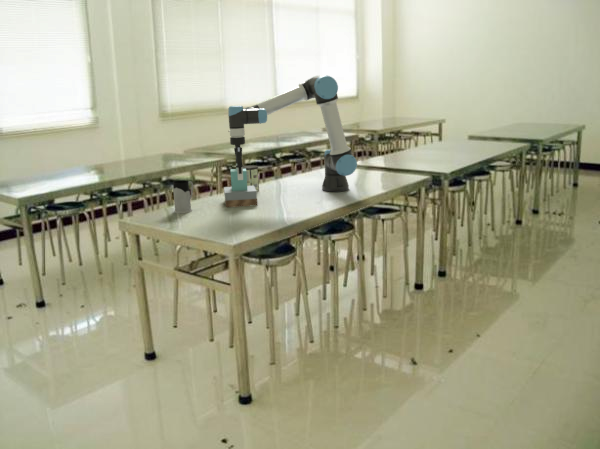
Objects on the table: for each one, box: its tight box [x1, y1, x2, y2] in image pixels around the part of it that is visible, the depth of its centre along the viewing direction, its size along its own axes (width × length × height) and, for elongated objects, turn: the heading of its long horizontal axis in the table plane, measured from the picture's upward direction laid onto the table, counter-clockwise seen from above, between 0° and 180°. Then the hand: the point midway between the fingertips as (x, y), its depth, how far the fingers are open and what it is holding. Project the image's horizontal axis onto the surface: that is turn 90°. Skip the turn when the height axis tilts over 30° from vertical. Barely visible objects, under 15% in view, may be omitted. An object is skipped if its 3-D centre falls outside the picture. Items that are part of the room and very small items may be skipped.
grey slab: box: [223, 186, 258, 202], centre depth 308 cm, size 16×16×4 cm
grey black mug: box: [172, 179, 194, 214], centre depth 295 cm, size 9×14×15 cm, turn 156°
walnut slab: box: [224, 198, 258, 208], centre depth 309 cm, size 16×16×4 cm
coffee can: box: [243, 164, 260, 193], centre depth 340 cm, size 10×10×14 cm
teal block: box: [229, 168, 247, 191], centre depth 306 cm, size 8×8×10 cm
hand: (239, 177), depth 306 cm, fingers open, 13 cm apart
